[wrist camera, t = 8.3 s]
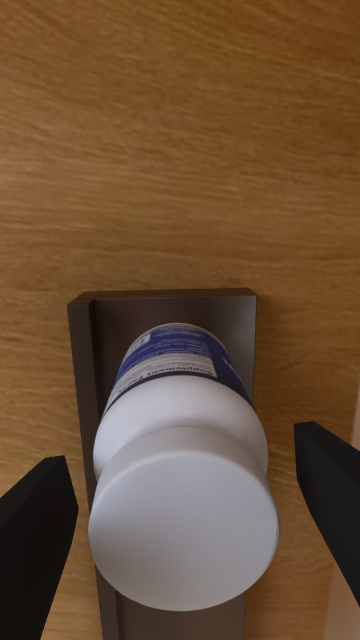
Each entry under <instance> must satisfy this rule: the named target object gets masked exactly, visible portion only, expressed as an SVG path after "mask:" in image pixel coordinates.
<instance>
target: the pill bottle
mask: <svg viewBox="0 0 360 640" xmlns="http://www.w3.org/2000/svg"><path fill="white" fill-rule="evenodd" d="M93 464H94V472H95V476H96V480H97V483H98V484H97V487H96V491H95V496H94V501H93V505H92V510H91V514H90V518H89V525H88V542H89V547H90V552H91V555H92V558H93V560H94V562H95V565H96V567H97V568H98V570H99V571H100V573H101V574H102V576H103V577H104V578H105V579H106V580H107V581H108V582H109V583H110V584H111V585H112V586H113V587H114V588H115V589H116V590H117V591H119V592H120V593H121V594H122V595H124V596H126V597H128V598H129V599H132V600H134V601H136V602H138V603H140V604H143V605H145V606H148V607H152V608H157V609H162V610H170V611H192V610H200V609H205V608H209V607H212V606H216V605H219V604H221V603H224V602H226V601H228V600H230V599H232V598H234V597H236V596H238V595H239V594H241V593H243V592H244V591H245V590H247V589H248V588H249V587H251V586H252V585H253V584H254V583H255V582H256V581H257V580H258V579H259V578H260V577H261V576H262V574H263V573H264V572H265V571H266V569H267V568H268V566H269V564H270V563H271V561H272V559H273V557H274V554H275V552H276V549H277V545H278V541H279V532H280V524H279V515H278V510H277V507H276V503H275V500H274V497H273V494H272V492H271V489H270V486H269V484H268V481H267V479H266V472H267V467H268V447H267V441H266V436H265V433H264V430H263V427H262V424H261V422H260V419H259V417H258V415H257V413H256V411H255V409H254V407H253V405H252V403H251V400H250V398H249V396H248V394H247V392H246V390H245V388H244V386H243V384H242V381H241V379H240V377H239V375H238V373H237V371H236V369H235V367H234V365H233V362H232V360H231V358H230V356H229V354H228V352H227V350H226V349H225V347H224V346H223V344H222V343H221V342H220V341H219V340H218V339H217V338H216V337H215V336H214V335H213V334H211V333H210V332H208V331H206V330H204V329H203V328H200V327H198V326H194V325H191V324H186V323H169V324H164V325H160V326H157V327H155V328H152V329H150V330H148V331H147V332H145V333H144V334H142V335H141V336H140V337H138V338H137V339H136V340H135V341H134V342H133V344H132V345H131V346H130V348H129V349H128V351H127V353H126V355H125V357H124V359H123V361H122V364H121V367H120V369H119V372H118V375H117V378H116V381H115V384H114V386H113V389H112V392H111V395H110V397H109V400H108V403H107V406H106V408H105V411H104V414H103V416H102V419H101V422H100V424H99V427H98V431H97V434H96V438H95V443H94V450H93Z"/></svg>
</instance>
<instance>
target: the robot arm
mask: <svg viewBox="0 0 360 640" xmlns="http://www.w3.org/2000/svg"><path fill="white" fill-rule="evenodd" d="M294 439H295V455H296V472H297V481H298V483H299V486H300V488H301V491H302V494H303V496H304V499H305V501H306V504H307V506H308V509H309V511H310V513H311V515H312V517H313V519H314V521H315V523H316V525H317V527H318V529H319V531H320V532H321V534H322V536H323V538H324V540H325V542H326V544H327V546H328V547H329V549H330V551H331V553H332V555H333V557H334V559H335V561H336V562H337V564H338V566H339V568H340V570H341V572H342V574H343V576H344V577H345V579H346V581H347V583H348V585H349V587H350V589H351V591H352V593H353V595H354V597H355V599H356V601H357V603H358V605H359V607H360V451H359V450H357V449H355V448H354V447H352V446H351V445H349V444H348V443H346V442H345V441H343V440H342V439H340V438H339V437H337V436H336V435H334V434H333V433H331V432H329V431H328V430H326V429H325V428H323V427H322V426H320V425H319V424H317V423H316V422H314V421H310V422H303V423H296V424H294ZM78 510H79V508H78V504H77V500H76V496H75V493H74V489H73V485H72V481H71V478H70V474H69V470H68V467H67V463H66V459H65V455H62V456H55V457H48V458H45V459H43V460H42V461H41V462H40V463H38V464H37V465H36V466H35V467H34V468H33V469H32V470H31V471H29V472H28V473H27V474H26V475H25V476H24V477H23V478H22V479H21V480H20V481H19V482H17V483H16V484H15V485H14V486H13V487H12V488H11V489H10V490H9V491H8V492H7V493H5V494H4V495H3V496H2V497H1V498H0V640H40V639H41V635H42V632H43V629H44V626H45V623H46V620H47V617H48V614H49V611H50V608H51V605H52V602H53V599H54V596H55V593H56V590H57V587H58V584H59V581H60V578H61V575H62V572H63V569H64V566H65V563H66V560H67V557H68V554H69V550H70V547H71V544H72V540H73V535H74V531H75V526H76V521H77V515H78Z"/></svg>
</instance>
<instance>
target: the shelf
mask: <svg viewBox="0 0 360 640" xmlns="http://www.w3.org/2000/svg"><path fill="white" fill-rule="evenodd" d="M256 310H257V295H256V294H255V293H254V292H253V291H252V290H250V289H249V288H222V289H179V290H136V291H93V292H83V293H82V294H81V295H79V296H78V297H77V298H75V299H74V300H72V301H71V302H70V303H68V304H67V311H68V320H69V329H70V338H71V348H72V357H73V366H74V375H75V385H76V394H77V403H78V412H79V422H80V431H81V440H82V449H83V459H84V468H85V477H86V487H87V496H88V505H89V514H91V510H92V505H93V501H94V496H95V491H96V487H97V484H98V483H97V480H96V476H95V472H94V464H93V450H94V443H95V438H96V434H97V431H98V427H99V424H100V422H101V419H102V416H103V414H104V411H105V408H106V406H107V403H108V400H109V397H110V395H111V392H112V389H113V386H114V384H115V381H116V378H117V375H118V372H119V369H120V367H121V364H122V361H123V359H124V357H125V355H126V353H127V351H128V349H129V348H130V346H131V345H132V344H133V342H134V341H135V340H136V339H137V338H138V337H140V336H141V335H142V334H144V333H145V332H147V331H148V330H150V329H152V328H155V327H157V326H160V325H164V324H169V323H186V324H191V325H194V326H198V327H200V328H203V329H204V330H206V331H208V332H210V333H211V334H213V335H214V336H215V337H216V338H217V339H218V340H219V341H220V342H221V343H222V344H223V346H224V347H225V349H226V350H227V352H228V354H229V356H230V358H231V360H232V362H233V365H234V367H235V369H236V371H237V373H238V375H239V377H240V379H241V381H242V384H243V386H244V388H245V390H246V392H247V394H248V396H249V398H250V400H251V403H252V405H253V386H254V361H255V336H256ZM95 570H96V579H97V588H98V598H99V607H100V616H101V625H102V635H103V640H243V637H244V612H245V591H244V592H243V593H241V594H239V595H238V596H236V597H234V598H232V599H230V600H228V601H226V602H224V603H221V604H219V605H216V606H212V607H209V608H205V609H200V610H192V611H170V610H162V609H157V608H152V607H148V606H145V605H143V604H140V603H138V602H136V601H134V600H132V599H129V598H128V597H126V596H124V595H122V594H121V593H120V592H119V591H117V590H116V589H115V588H114V587H113V586H112V585H111V584H110V583H109V582H108V581H107V580H106V579H105V578H104V577H103V576H102V574H101V573H100V571H99V570H98V568H97V567H96V565H95Z"/></svg>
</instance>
